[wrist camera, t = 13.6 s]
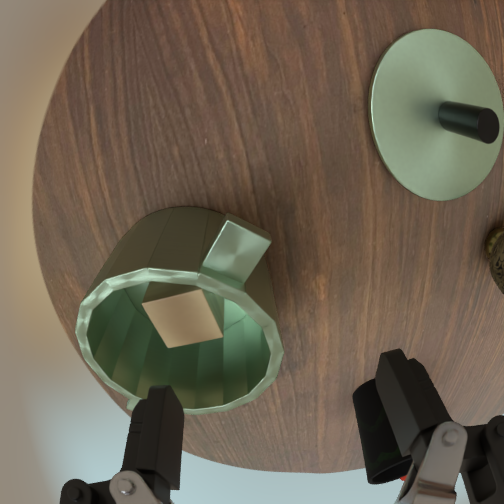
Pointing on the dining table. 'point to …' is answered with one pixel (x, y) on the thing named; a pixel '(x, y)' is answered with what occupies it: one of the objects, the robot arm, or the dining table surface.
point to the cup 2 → (496, 256)
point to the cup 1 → (378, 437)
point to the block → (184, 313)
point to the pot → (189, 273)
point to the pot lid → (435, 114)
